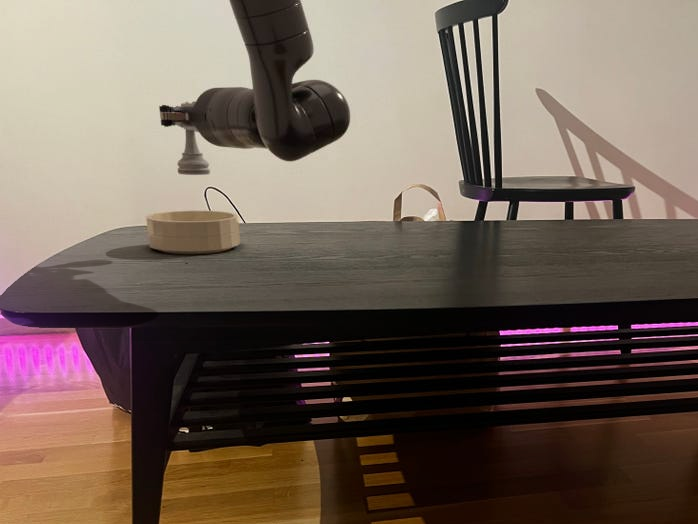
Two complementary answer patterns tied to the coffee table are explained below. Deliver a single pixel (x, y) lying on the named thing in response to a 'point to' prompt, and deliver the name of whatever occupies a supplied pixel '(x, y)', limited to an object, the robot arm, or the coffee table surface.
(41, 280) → the coffee table surface
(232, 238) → the bowl
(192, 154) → the chess piece
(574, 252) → the coffee table surface
